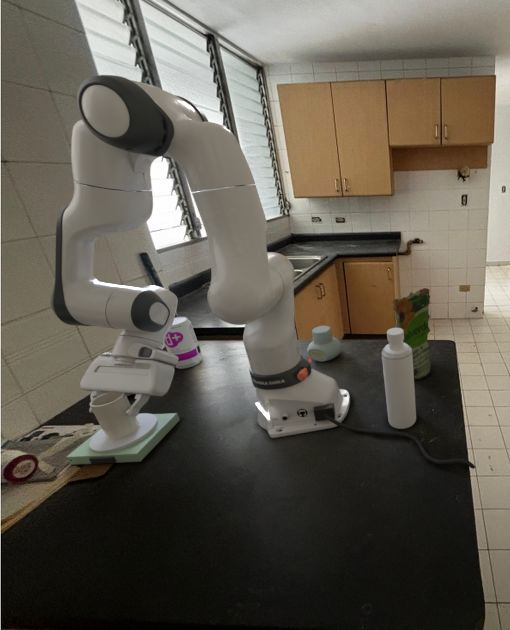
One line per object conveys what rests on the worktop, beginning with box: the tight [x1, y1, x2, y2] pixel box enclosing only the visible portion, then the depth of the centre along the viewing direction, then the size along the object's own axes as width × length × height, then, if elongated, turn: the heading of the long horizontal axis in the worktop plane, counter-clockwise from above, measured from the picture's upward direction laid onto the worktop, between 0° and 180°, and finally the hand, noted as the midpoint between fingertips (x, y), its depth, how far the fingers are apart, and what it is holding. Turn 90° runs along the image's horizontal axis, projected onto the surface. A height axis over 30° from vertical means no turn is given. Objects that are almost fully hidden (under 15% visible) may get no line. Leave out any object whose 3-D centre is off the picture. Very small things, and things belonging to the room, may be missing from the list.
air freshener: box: [306, 325, 343, 362], centre depth 107 cm, size 11×8×10 cm
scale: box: [65, 412, 181, 466], centre depth 76 cm, size 15×13×3 cm
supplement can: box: [164, 316, 204, 370], centre depth 106 cm, size 8×8×15 cm
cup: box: [89, 392, 140, 440], centre depth 74 cm, size 6×6×9 cm
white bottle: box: [380, 327, 417, 430], centre depth 75 cm, size 7×7×25 cm
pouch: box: [391, 287, 432, 380], centre depth 94 cm, size 11×12×25 cm
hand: (112, 414), depth 73 cm, fingers open, 8 cm apart
